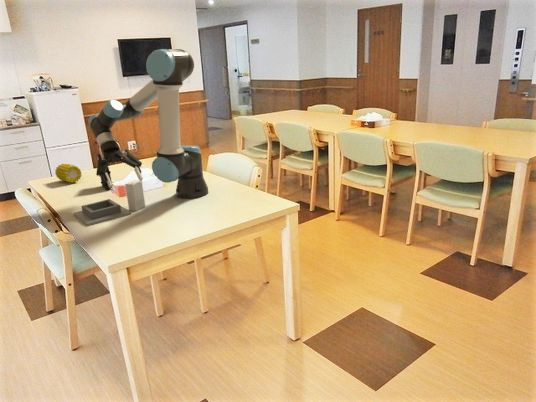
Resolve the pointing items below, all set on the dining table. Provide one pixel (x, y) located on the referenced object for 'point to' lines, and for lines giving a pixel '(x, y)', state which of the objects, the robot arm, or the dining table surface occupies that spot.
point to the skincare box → (135, 195)
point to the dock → (100, 212)
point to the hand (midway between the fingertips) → (126, 183)
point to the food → (68, 173)
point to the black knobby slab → (105, 172)
